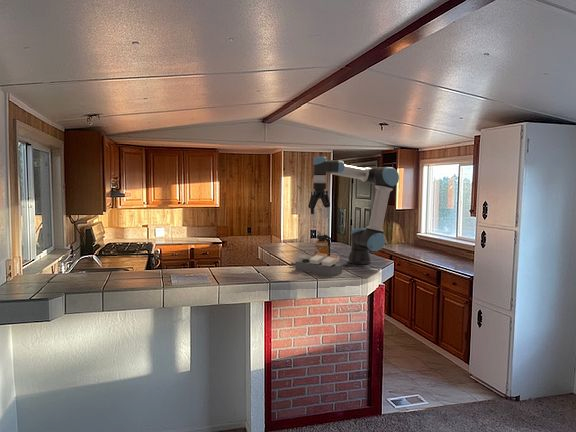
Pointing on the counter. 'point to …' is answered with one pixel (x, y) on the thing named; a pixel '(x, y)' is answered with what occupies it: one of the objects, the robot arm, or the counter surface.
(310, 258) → the rocker
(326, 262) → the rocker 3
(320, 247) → the canister
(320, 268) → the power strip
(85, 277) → the counter surface
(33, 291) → the counter surface
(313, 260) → the rocker
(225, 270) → the counter surface
